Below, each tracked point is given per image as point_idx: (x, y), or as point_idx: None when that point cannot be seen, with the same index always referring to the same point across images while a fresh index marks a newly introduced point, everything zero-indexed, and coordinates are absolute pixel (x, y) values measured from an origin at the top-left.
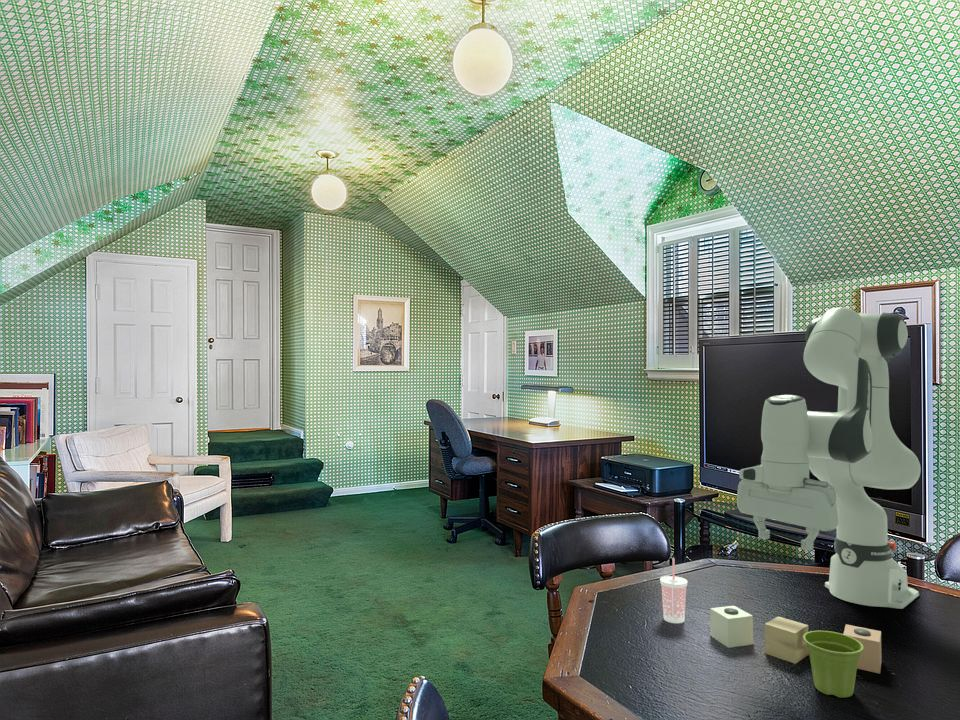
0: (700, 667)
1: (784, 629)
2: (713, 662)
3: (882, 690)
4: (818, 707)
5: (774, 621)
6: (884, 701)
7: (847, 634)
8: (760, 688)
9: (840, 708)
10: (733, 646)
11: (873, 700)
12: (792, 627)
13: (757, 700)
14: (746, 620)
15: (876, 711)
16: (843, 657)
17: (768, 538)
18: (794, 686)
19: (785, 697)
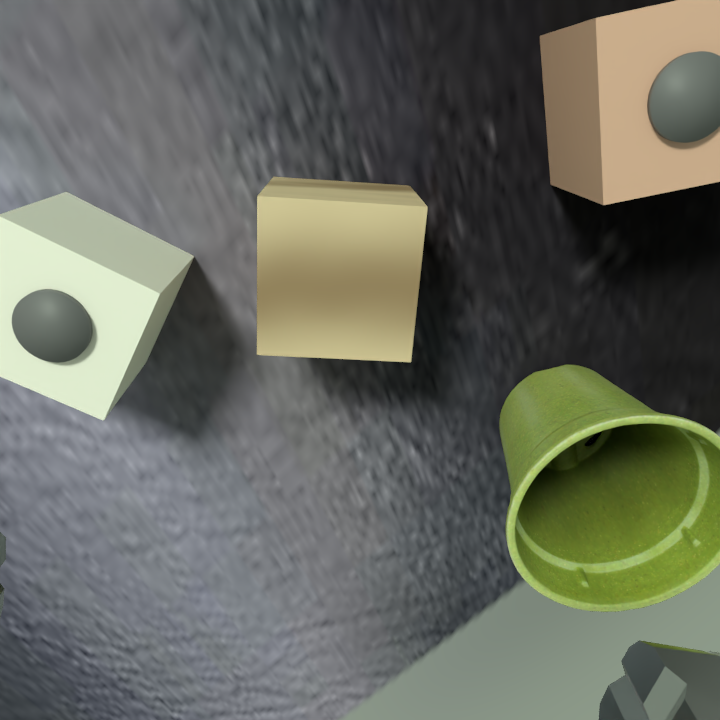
0: (176, 563)
1: (356, 354)
2: (182, 507)
3: (697, 304)
4: None
5: (276, 287)
6: (704, 380)
7: (622, 187)
8: (375, 557)
9: None
10: (154, 343)
11: (673, 398)
12: (375, 300)
13: (396, 617)
14: (150, 322)
15: None
16: (666, 570)
17: (3, 553)
18: (450, 479)
19: (450, 556)
